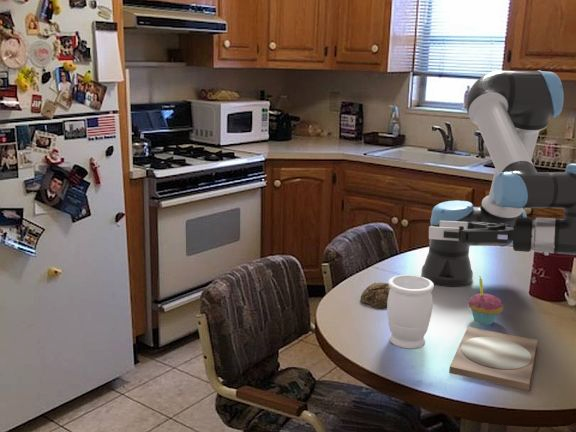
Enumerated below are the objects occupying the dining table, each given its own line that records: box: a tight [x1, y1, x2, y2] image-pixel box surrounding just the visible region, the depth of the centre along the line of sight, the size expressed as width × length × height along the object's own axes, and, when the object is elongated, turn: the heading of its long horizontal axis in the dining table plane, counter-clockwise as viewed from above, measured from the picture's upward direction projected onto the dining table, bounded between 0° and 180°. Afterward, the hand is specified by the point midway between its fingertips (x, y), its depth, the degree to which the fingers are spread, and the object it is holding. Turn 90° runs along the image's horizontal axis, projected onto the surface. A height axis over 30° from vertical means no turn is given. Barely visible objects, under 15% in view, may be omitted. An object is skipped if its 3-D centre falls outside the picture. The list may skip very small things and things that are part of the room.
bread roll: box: [360, 282, 390, 310], centre depth 170 cm, size 13×12×5 cm
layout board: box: [448, 326, 538, 391], centre depth 138 cm, size 22×16×2 cm
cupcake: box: [467, 276, 504, 326], centre depth 156 cm, size 9×8×12 cm
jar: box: [386, 274, 435, 350], centre depth 145 cm, size 11×10×15 cm
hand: (434, 229), depth 143 cm, fingers open, 13 cm apart
